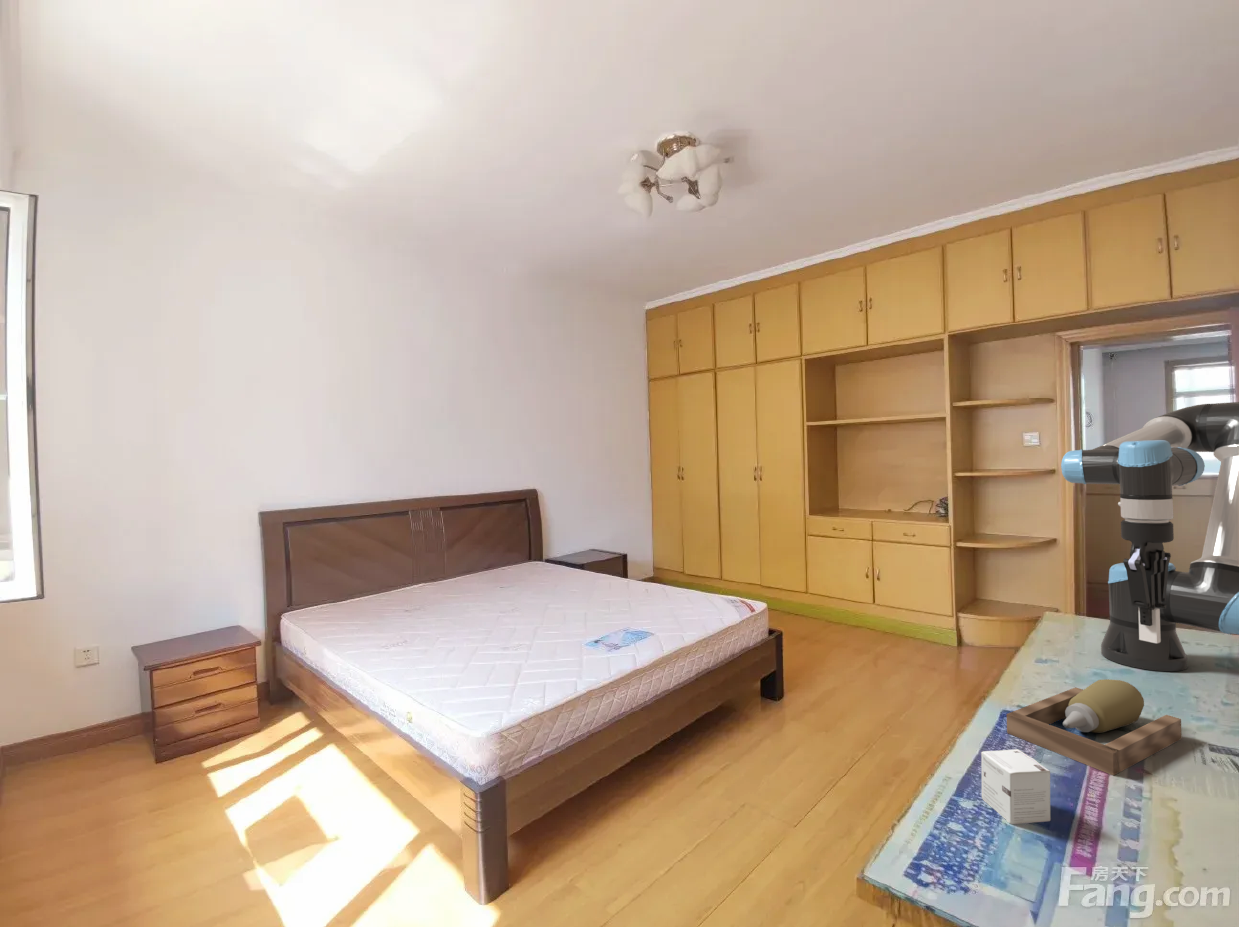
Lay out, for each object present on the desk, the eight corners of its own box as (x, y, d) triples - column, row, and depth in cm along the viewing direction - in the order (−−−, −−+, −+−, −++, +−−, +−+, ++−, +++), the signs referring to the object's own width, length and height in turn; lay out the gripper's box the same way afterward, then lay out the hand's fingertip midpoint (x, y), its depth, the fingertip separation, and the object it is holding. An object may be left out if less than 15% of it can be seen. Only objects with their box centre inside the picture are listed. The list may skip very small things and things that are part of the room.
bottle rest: (1075, 704, 115) (1075, 687, 115) (1181, 738, 101) (1181, 718, 101) (1007, 732, 105) (1006, 713, 105) (1113, 775, 90) (1113, 753, 90)
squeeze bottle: (1162, 701, 103) (1102, 732, 96) (1135, 727, 108) (1075, 758, 101) (1116, 664, 109) (1056, 691, 102) (1092, 690, 114) (1033, 717, 107)
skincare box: (980, 799, 86) (979, 750, 86) (1019, 796, 86) (1018, 747, 86) (1011, 825, 80) (1010, 772, 80) (1052, 822, 80) (1051, 769, 80)
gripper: (1138, 515, 118) (1142, 629, 118) (1105, 521, 112) (1109, 641, 113) (1187, 518, 111) (1190, 639, 112) (1154, 525, 105) (1158, 653, 106)
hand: (1149, 640), depth 112 cm, fingers closed
